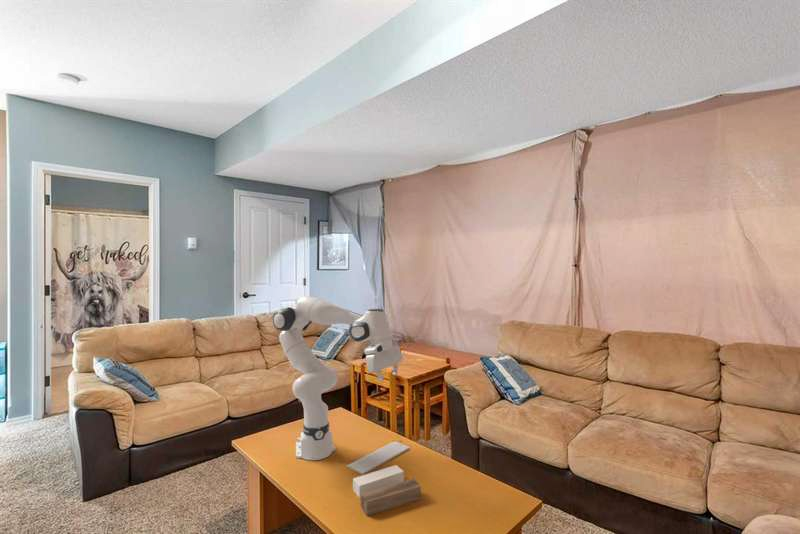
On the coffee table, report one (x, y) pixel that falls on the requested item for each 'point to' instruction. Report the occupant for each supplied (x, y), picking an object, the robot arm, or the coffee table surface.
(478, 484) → the coffee table surface
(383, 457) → the baseboard molding
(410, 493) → the brown wooden block
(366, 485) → the cream floor plank
